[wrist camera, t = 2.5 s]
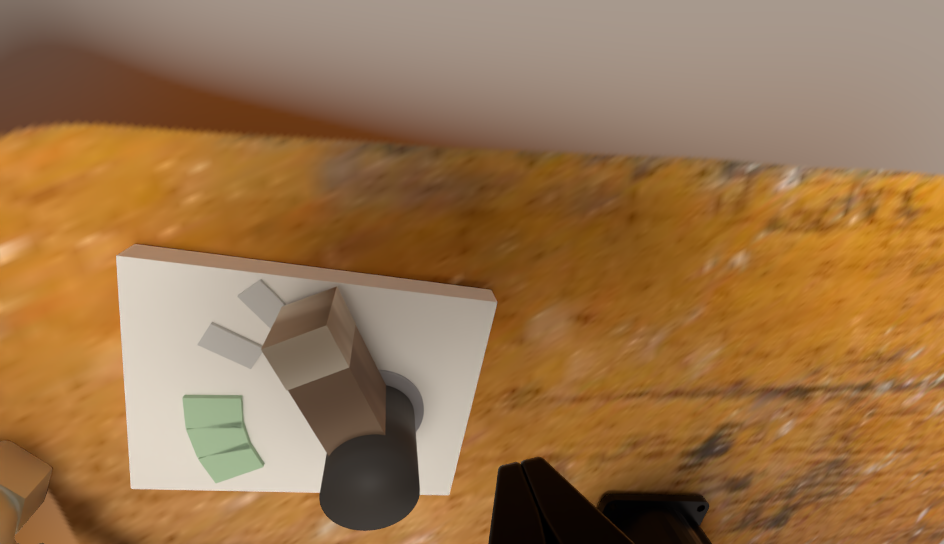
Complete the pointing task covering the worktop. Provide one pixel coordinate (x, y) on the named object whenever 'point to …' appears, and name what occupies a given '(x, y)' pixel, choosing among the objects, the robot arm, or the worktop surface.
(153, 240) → the worktop surface
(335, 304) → the lever
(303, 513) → the worktop surface
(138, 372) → the dial board
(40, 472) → the valve
